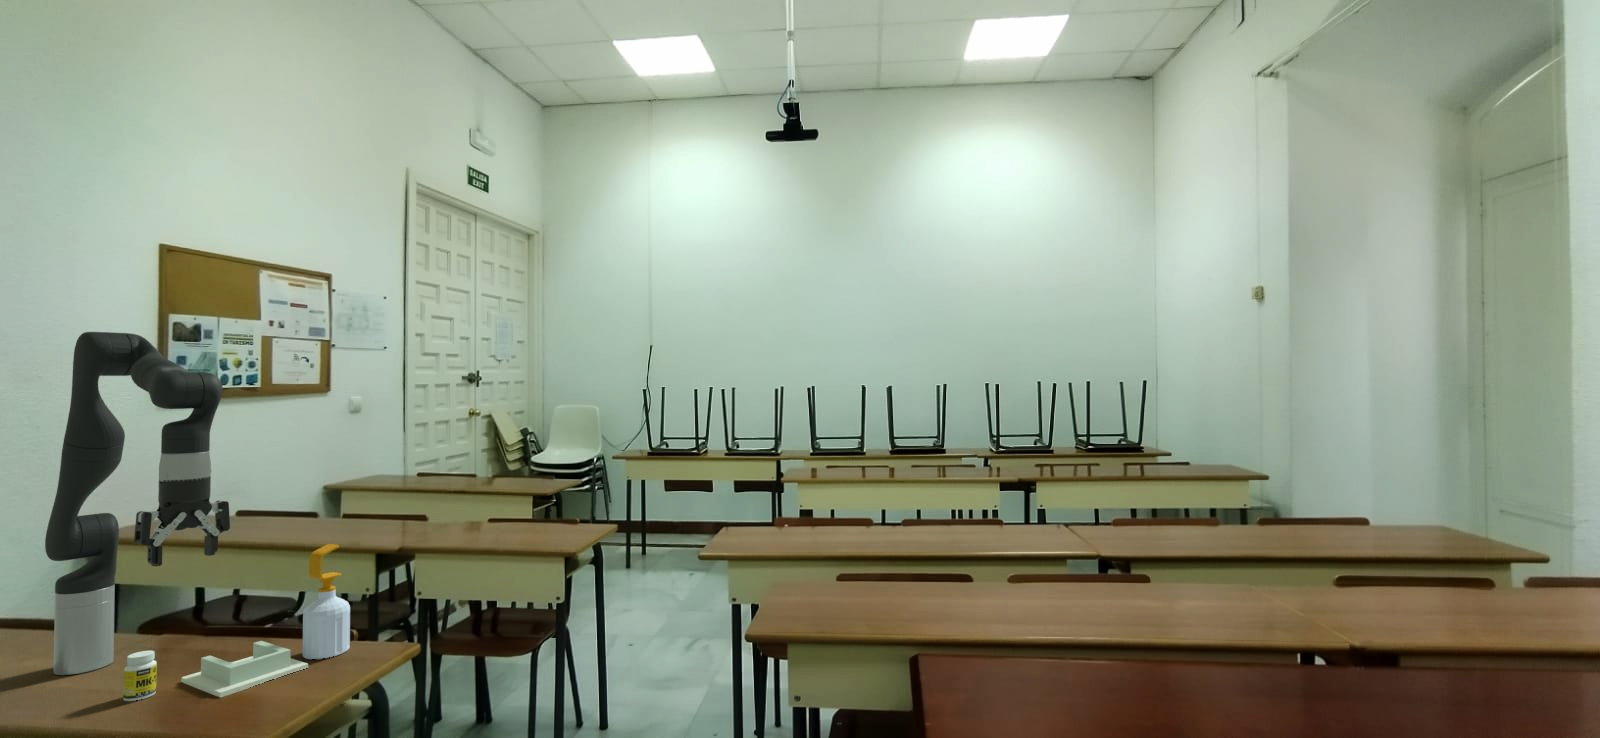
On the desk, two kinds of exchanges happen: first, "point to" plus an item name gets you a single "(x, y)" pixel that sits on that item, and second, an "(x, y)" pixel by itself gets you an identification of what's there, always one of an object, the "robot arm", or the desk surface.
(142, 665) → the supplement bottle
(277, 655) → the u rest
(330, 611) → the soap bottle
